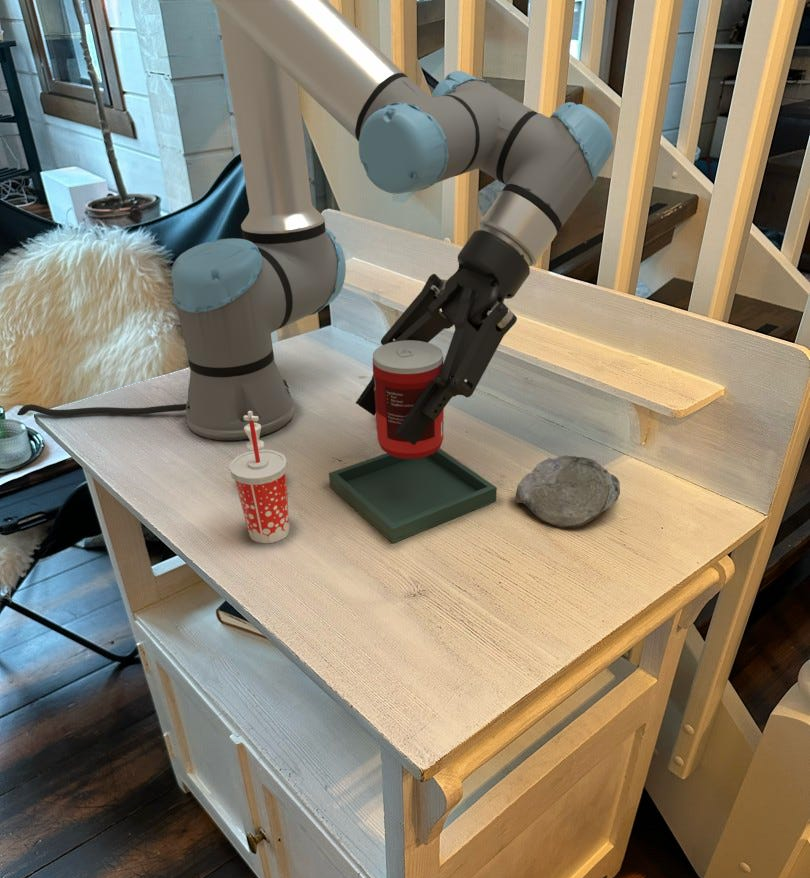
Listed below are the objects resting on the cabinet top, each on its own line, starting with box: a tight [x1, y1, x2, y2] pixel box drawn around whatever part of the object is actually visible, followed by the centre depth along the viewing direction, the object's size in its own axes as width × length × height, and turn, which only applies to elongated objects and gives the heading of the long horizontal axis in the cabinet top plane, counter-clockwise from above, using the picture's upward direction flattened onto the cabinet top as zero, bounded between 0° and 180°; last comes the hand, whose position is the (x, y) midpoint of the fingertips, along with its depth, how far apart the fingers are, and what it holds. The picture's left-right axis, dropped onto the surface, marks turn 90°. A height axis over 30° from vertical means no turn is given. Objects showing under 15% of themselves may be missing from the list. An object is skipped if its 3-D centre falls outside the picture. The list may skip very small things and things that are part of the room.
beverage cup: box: [228, 420, 291, 544], centre depth 82 cm, size 6×6×14 cm
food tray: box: [328, 448, 498, 544], centre depth 91 cm, size 15×15×2 cm
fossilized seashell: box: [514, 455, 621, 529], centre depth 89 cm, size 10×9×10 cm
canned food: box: [372, 340, 445, 459], centre depth 85 cm, size 8×8×11 cm
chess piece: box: [244, 411, 265, 451], centre depth 92 cm, size 5×5×10 cm
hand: (384, 423), depth 84 cm, fingers closed on canned food, 8 cm apart
